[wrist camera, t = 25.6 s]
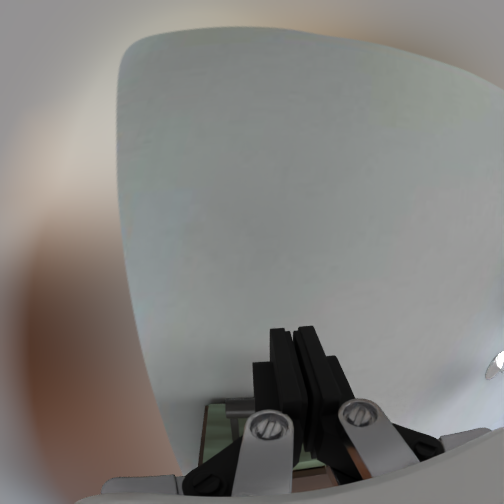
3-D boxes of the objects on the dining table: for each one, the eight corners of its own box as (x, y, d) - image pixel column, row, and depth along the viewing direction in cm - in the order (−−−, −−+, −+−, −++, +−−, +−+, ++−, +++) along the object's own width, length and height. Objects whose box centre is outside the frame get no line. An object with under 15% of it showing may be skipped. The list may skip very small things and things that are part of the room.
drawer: (202, 364, 24) (191, 429, 17) (331, 356, 24) (358, 416, 17) (223, 474, 29) (222, 522, 22) (311, 468, 30) (321, 515, 22)
